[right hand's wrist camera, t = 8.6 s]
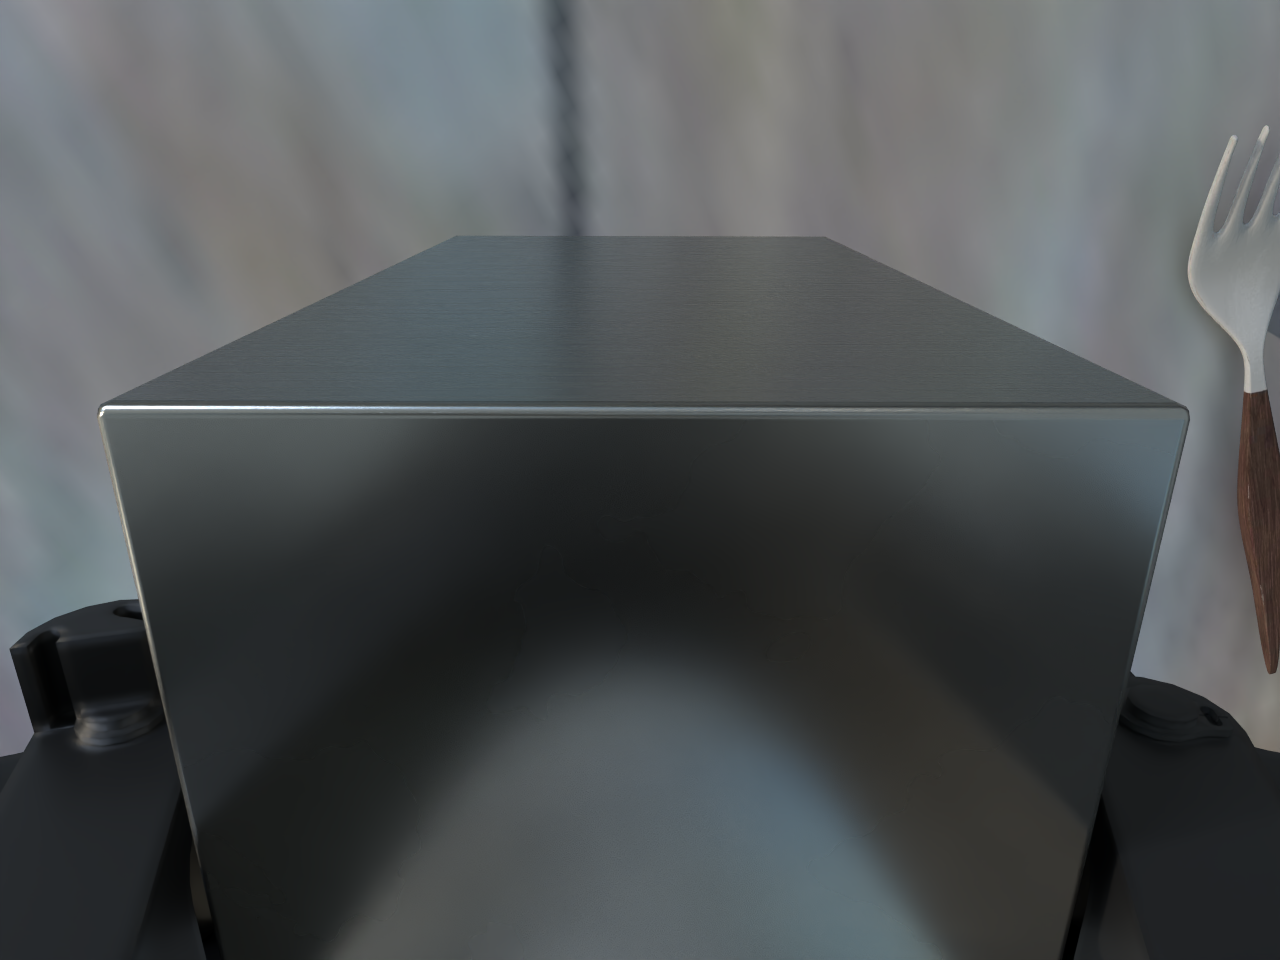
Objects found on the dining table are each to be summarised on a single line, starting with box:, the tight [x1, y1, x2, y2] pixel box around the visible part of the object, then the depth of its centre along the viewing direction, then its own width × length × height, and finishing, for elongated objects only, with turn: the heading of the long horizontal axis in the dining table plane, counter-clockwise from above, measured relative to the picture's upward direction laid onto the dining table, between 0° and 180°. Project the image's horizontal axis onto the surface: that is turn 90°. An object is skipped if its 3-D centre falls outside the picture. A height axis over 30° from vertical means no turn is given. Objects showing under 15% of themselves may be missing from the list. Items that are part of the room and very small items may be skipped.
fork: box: [1188, 125, 1280, 674], centre depth 23 cm, size 3×16×2 cm, turn 17°
